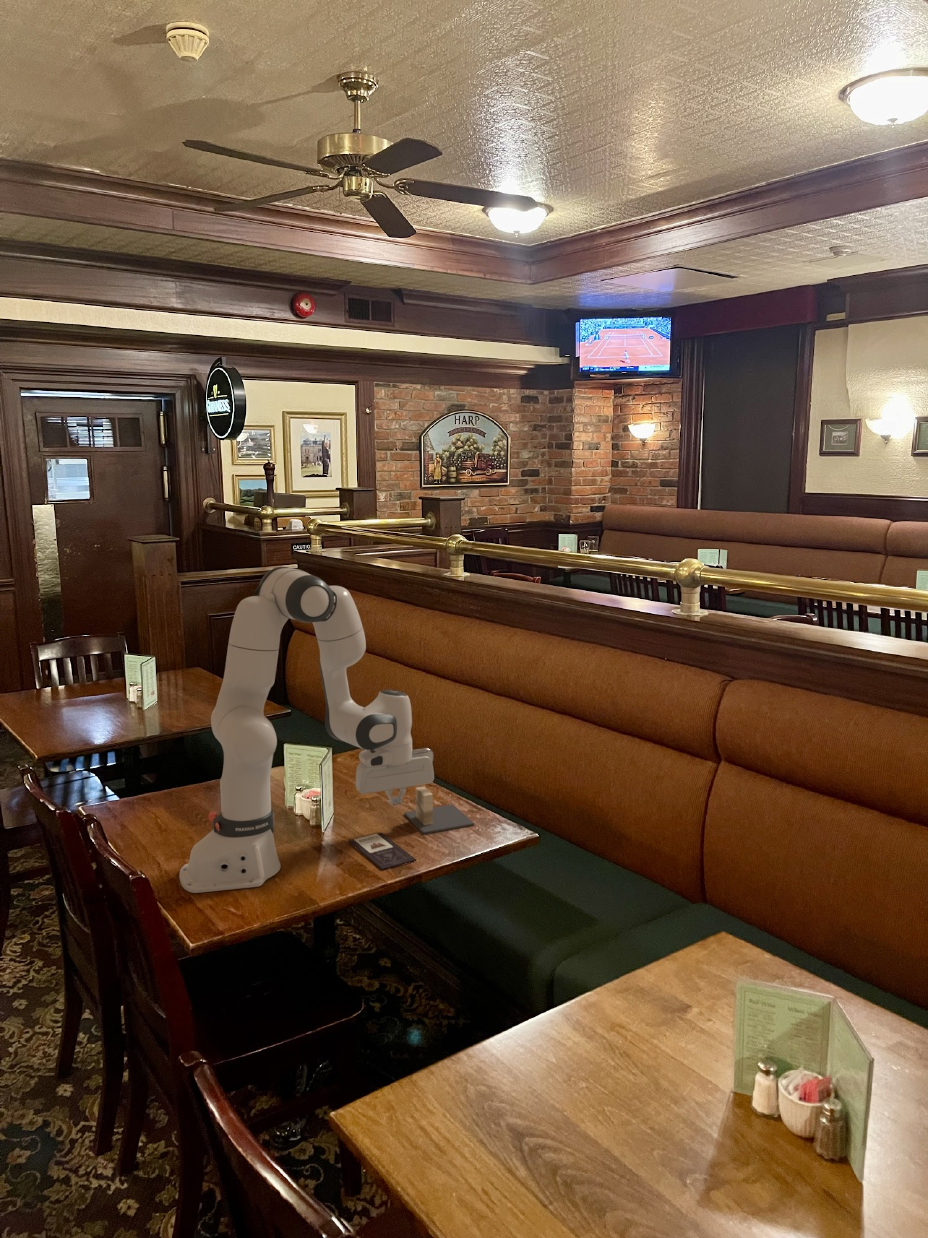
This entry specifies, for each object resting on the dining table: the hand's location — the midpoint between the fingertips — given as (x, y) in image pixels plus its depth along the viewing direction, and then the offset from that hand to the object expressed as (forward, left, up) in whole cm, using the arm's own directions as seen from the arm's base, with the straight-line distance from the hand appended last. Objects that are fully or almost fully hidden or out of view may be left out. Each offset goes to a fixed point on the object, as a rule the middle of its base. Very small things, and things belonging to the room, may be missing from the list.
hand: (395, 804), depth 234 cm
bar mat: (+12, 0, -6) cm, 13 cm away
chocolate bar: (-8, -12, -7) cm, 16 cm away
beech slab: (+8, 0, -6) cm, 10 cm away
